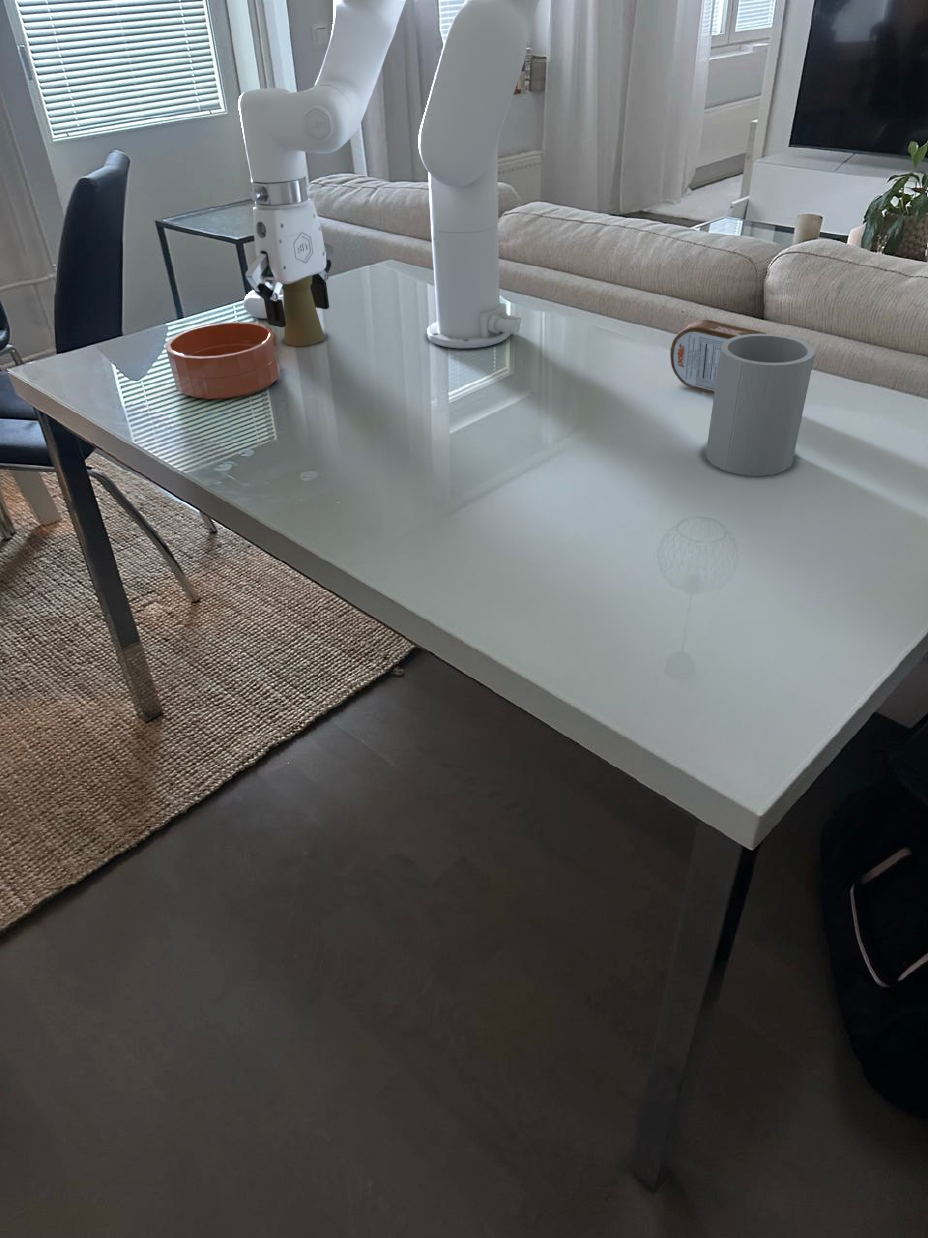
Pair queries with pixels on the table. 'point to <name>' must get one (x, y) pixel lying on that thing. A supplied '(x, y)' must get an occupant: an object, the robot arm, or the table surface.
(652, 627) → the table surface
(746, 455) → the cup
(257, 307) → the donut
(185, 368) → the basin
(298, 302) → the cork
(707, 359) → the tin
